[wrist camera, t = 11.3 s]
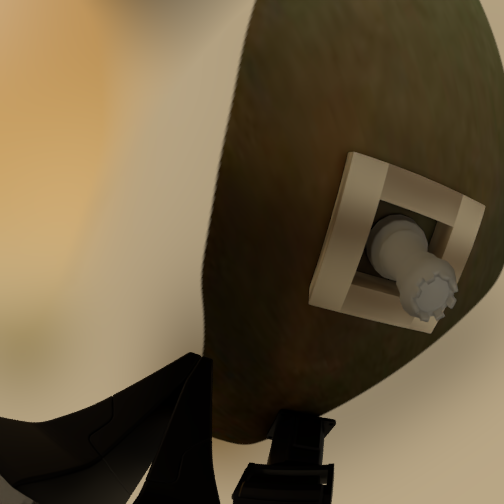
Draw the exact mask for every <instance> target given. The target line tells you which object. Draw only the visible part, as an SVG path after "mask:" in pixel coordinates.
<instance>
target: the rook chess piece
mask: <svg viewBox="0 0 504 504" xmlns="http://www.w3.org/2000/svg"><path fill="white" fill-rule="evenodd" d="M366 248H367V256H368V259H369V261H370V263H371V265H372V266H373V267H374V269H375V270H376V271H377V272H378V273H379V274H380V275H381V276H383V277H384V278H387V279H390V280H394V281H396V285H397V287H398V290H399V292H400V302H401V305H402V307H403V310H405V311H406V312H407V313H408V314H409V315H410V316H413V317H417V318H419V319H420V321H424V322H428V321H429V319H430V317H431V316H434V317H435V319H436V321H438V320H439V319H441V318H443V317H445V315H444V313H443V312H442V311H443V310H444V309H445V308H446V307H447V306H448V307H449V308H451V309H452V308H453V306H454V305H455V303H456V301H457V300H456V299H455V298H454V296H453V295H454V293H455V292H457V291H458V288H457V283H456V275H455V271H454V269H453V267H452V266H451V265H450V264H449V263H448V262H447V261H445V260H442V259H439V258H437V257H436V256H435V255H434V254H432V253H429V252H427V251H428V243H427V240H426V237H425V234H424V231H423V230H422V229H421V228H420V226H419V225H418V224H417V223H416V222H415V221H414V220H413V219H412V218H409V217H407V216H404V215H401V214H400V215H389V216H387V217H385V218H384V219H382V220H380V221H378V222H377V224H376V225H375V226H374V227H373V228H372V230H371V231H370V234H369V236H368V239H367V242H366Z"/></svg>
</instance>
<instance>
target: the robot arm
mask: <svg viewBox="0 0 504 504" xmlns="http://www.w3.org/2000/svg"><path fill="white" fill-rule="evenodd" d="M212 383H213V360H212V359H209V358H207V357H201V356H200V355H198V354H195V353H192V352H189V353H187V354H185V355H184V356H182V357H180V358H179V359H177V360H175V361H174V362H172V363H170V364H169V365H167V366H165V367H164V368H162V369H160V370H158V371H156V372H155V373H153V374H151V375H149V376H147V377H146V378H144V379H142V380H140V381H139V382H137V383H135V384H133V385H131V386H129V387H128V388H126V389H124V390H122V391H120V392H118V393H116V394H114V395H113V396H110V397H109V398H107V399H105V400H103V401H101V402H99V403H97V404H95V405H92V406H90V407H87V408H85V409H82V410H80V411H77V412H74V413H71V414H68V415H65V416H62V417H59V418H56V419H53V420H49V421H45V422H36V423H35V422H33V423H32V422H25V421H18V420H13V419H7V418H3V417H0V504H126V502H127V501H128V499H129V498H130V495H132V493H133V492H134V490H135V488H136V487H137V485H138V484H139V482H140V480H141V479H142V477H143V476H144V474H145V473H146V471H147V470H148V468H149V466H150V465H151V463H152V465H151V467H150V469H149V473H148V475H147V477H146V481H145V482H144V485H143V487H142V489H141V491H140V493H139V495H138V497H137V498H136V499H135V501H134V502H133V504H220V500H219V495H218V491H217V486H216V481H215V475H214V470H213V459H212ZM335 425H336V421H335V420H334V419H328V418H322V417H317V416H311V415H306V414H301V413H296V412H292V411H287V410H280V411H279V413H278V415H277V417H276V418H275V420H274V422H273V424H272V426H271V428H270V430H269V431H268V433H267V436H266V437H267V438H268V439H271V440H272V444H271V449H270V453H269V457H268V462H267V465H266V464H265V465H264V464H255V463H249V464H248V466H247V468H246V469H245V471H244V473H243V475H242V477H241V479H240V481H239V483H238V485H237V487H236V488H235V490H234V492H233V494H232V499H233V504H331V502H332V493H333V481H334V464H329V465H322V459H323V446H324V438H325V437H326V435H327V434H328V433H329V432H330V431H331V430H332V428H333V427H334V426H335ZM322 484H327V485H322Z"/></svg>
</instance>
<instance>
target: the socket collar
mask: <svg viewBox="0 0 504 504" xmlns="http://www.w3.org/2000/svg"><path fill="white" fill-rule="evenodd" d="M379 200H383V201H386V202H389V203H392V204H395V205H398V206H400V207H403V208H406V209H409V210H411V211H414V212H417V213H419V214H422V215H425V216H427V217H430V218H432V219H435V220H437V224H436V227H435V230H434V233H433V235H432V238H431V241H430V244H429V246H428V251H427V252H429V253H432V254H434V255H435V256H436V257H437V258H439V259H442V260H445V261H447V262H448V263H449V264H450V265H451V266H452V267H453V269H454V271H455V275H456V283H457V282H458V280H459V278H460V276H461V273H462V271H463V269H464V266H465V264H466V262H467V259H468V257H469V254H470V251H471V249H472V246H473V243H474V241H475V238H476V235H477V232H478V229H479V226H480V223H481V220H482V217H483V213H484V210H485V206H484V205H482V204H480V203H478V202H476V201H474V200H472V199H471V198H469V197H467V196H465V195H463V194H460V193H458V192H456V191H454V190H452V189H450V188H448V187H446V186H443V185H441V184H439V183H437V182H434V181H432V180H430V179H427V178H425V177H423V176H420V175H418V174H415V173H413V172H410V171H408V170H405V169H403V168H400V167H397V166H395V165H392V164H389V163H386V162H383V161H381V160H378V159H375V158H372V157H369V156H366V155H363V154H359V153H356V152H348V155H347V160H346V164H345V168H344V172H343V176H342V180H341V184H340V187H339V191H338V195H337V199H336V202H335V206H334V209H333V213H332V217H331V220H330V224H329V227H328V230H327V234H326V237H325V240H324V244H323V247H322V250H321V253H320V257H319V260H318V263H317V266H316V269H315V272H314V275H313V278H312V281H311V284H310V289H309V304H310V305H314V306H317V307H321V308H325V309H329V310H333V311H337V312H341V313H345V314H349V315H353V316H357V317H361V318H365V319H369V320H374V321H378V322H382V323H386V324H391V325H395V326H399V327H404V328H408V329H413V330H417V331H422V332H427V333H431V332H432V331H433V329H434V327H435V325H436V324H437V322H438V321H436V319H435V317H434V316H431V317H430V319H429V321H428V322H424V321H420V319H419V318H417V317H413V316H410V315H409V314H408V313H407V312H406V311H405V310H403V307H402V305H401V302H400V292H399V290H398V287H397V285H396V282H394V281H390V280H387V279H383V278H380V277H376V276H373V275H369V274H365V273H362V272H358V271H356V270H357V267H358V264H359V261H360V259H361V256H362V253H363V250H364V247H365V244H366V241H367V238H368V235H369V232H370V229H371V226H372V223H373V220H374V217H375V213H376V210H377V207H378V203H379ZM443 311H444V310H443ZM443 311H442V312H443Z"/></svg>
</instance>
